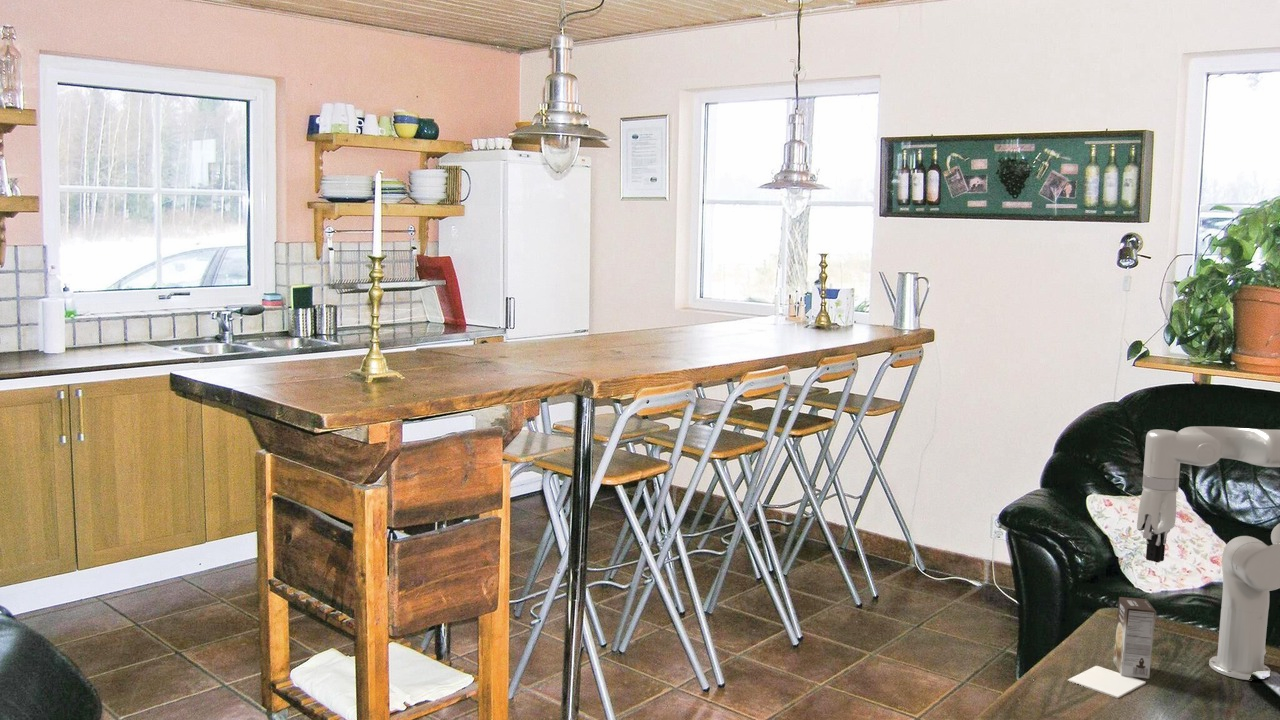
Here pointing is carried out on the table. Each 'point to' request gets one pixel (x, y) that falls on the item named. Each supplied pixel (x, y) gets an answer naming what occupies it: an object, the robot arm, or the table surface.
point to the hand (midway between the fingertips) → (1154, 560)
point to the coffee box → (1134, 637)
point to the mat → (1106, 681)
